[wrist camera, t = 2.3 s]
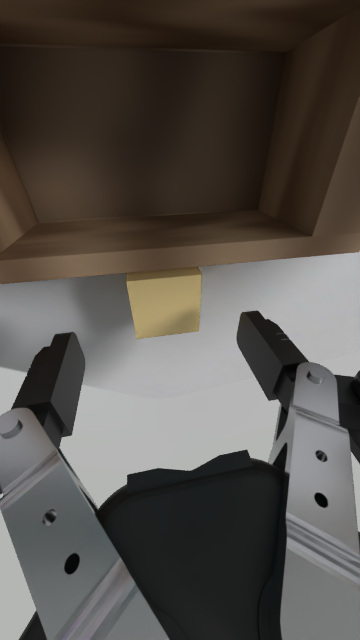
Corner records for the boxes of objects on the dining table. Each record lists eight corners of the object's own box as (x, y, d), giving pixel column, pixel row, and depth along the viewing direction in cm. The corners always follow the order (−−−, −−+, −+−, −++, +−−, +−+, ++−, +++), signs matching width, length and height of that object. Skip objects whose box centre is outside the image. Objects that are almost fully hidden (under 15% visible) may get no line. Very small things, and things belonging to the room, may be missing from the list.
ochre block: (184, 243, 16) (201, 274, 12) (184, 292, 18) (199, 331, 15) (127, 247, 16) (126, 281, 12) (135, 297, 18) (136, 339, 14)
